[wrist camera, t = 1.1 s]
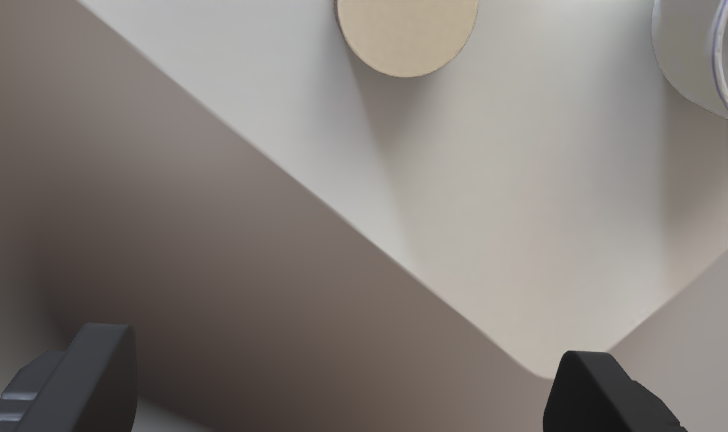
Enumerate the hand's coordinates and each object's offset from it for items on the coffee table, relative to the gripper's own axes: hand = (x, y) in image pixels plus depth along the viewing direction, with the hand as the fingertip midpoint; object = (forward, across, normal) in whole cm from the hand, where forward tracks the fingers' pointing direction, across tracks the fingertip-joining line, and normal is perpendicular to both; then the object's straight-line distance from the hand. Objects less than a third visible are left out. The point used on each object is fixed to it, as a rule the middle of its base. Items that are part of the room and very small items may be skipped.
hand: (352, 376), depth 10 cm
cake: (+21, -3, -6) cm, 22 cm away
